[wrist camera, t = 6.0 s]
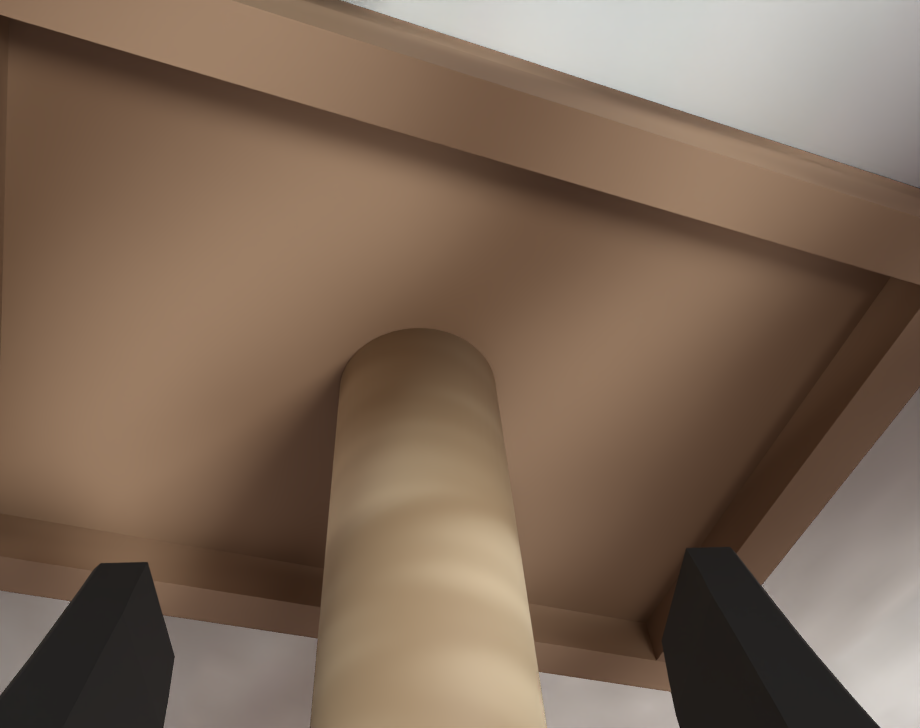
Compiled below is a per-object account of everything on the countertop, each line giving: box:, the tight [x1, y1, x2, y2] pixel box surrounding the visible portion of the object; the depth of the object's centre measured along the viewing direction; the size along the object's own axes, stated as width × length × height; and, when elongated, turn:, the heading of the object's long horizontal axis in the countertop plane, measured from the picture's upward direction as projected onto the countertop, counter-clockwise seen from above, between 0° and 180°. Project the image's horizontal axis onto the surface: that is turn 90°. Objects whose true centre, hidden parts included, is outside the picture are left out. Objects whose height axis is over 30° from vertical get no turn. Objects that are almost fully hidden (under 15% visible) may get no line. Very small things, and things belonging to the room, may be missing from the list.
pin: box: [310, 328, 547, 728], centre depth 12 cm, size 3×3×8 cm
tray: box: [0, 0, 920, 692], centre depth 15 cm, size 16×12×2 cm
